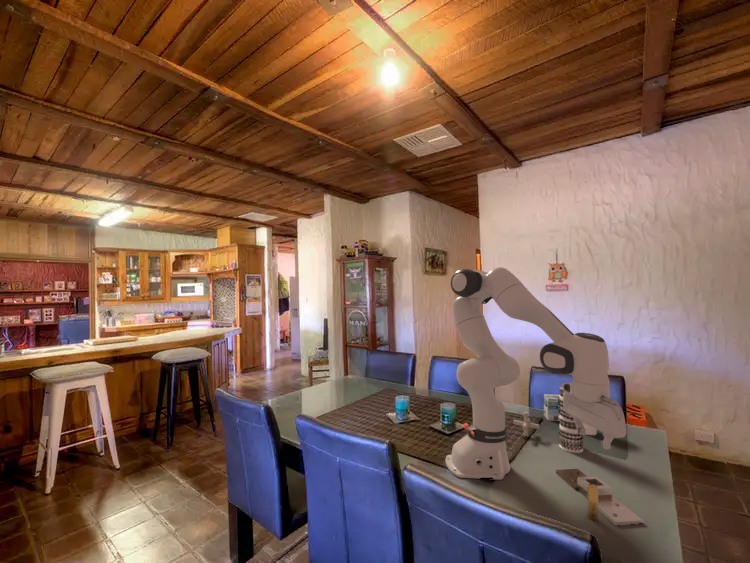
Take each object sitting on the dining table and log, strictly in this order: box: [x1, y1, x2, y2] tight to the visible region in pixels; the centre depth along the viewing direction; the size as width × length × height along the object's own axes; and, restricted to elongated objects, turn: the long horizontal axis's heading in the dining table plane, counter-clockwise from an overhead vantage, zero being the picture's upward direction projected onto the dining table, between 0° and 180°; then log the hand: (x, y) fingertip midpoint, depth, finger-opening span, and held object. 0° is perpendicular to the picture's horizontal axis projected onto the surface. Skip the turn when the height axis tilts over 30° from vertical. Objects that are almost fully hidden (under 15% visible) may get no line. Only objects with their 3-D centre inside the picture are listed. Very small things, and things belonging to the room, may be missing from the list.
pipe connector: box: [513, 411, 540, 438], centre depth 149 cm, size 10×10×10 cm
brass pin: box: [587, 484, 599, 523], centre depth 96 cm, size 2×2×9 cm
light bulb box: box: [543, 393, 560, 422], centre depth 168 cm, size 11×7×11 cm, turn 81°
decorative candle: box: [557, 385, 584, 454], centre depth 138 cm, size 9×9×25 cm
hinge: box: [555, 468, 644, 527], centre depth 107 cm, size 26×8×4 cm, turn 5°
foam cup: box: [582, 422, 598, 436], centre depth 152 cm, size 10×9×13 cm
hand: (592, 440), depth 97 cm, fingers open, 8 cm apart
